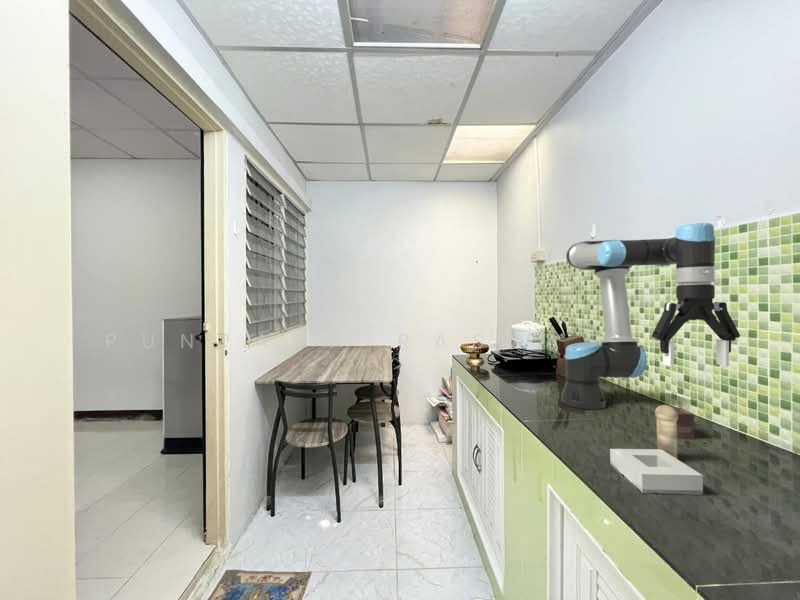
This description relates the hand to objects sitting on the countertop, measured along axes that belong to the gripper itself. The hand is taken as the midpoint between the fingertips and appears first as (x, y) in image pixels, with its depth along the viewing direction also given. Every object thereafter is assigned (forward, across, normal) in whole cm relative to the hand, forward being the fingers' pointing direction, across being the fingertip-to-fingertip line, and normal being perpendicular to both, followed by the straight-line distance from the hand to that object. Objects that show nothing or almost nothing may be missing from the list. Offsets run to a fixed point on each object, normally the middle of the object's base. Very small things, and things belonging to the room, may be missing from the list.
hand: (695, 365), depth 87 cm
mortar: (+23, -20, -13) cm, 33 cm away
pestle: (+23, -10, -3) cm, 25 cm away
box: (+23, +4, +12) cm, 27 cm away
